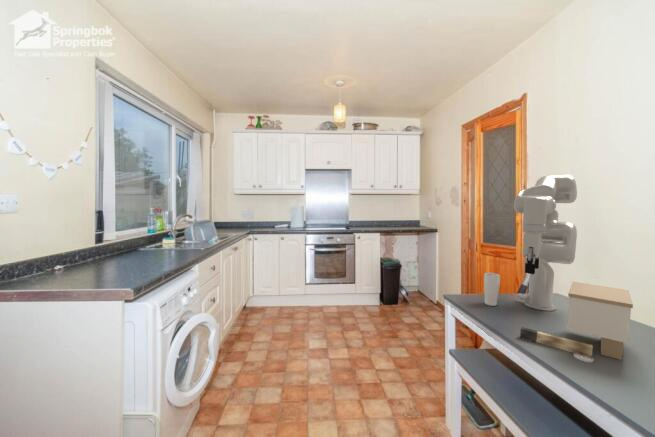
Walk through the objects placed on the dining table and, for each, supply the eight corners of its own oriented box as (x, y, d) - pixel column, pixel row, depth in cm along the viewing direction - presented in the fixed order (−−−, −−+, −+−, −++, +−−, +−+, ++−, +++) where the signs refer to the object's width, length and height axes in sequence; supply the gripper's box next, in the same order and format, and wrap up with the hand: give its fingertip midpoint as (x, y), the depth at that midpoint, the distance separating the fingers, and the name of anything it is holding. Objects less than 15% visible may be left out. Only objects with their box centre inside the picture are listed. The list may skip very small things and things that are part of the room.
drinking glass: (480, 304, 147) (482, 274, 146) (485, 301, 152) (486, 271, 151) (496, 307, 142) (498, 276, 141) (500, 304, 147) (501, 274, 146)
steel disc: (571, 358, 98) (571, 355, 98) (575, 353, 101) (575, 350, 101) (591, 365, 94) (591, 361, 94) (595, 360, 97) (595, 356, 97)
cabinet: (564, 347, 105) (568, 293, 103) (569, 328, 120) (572, 281, 119) (627, 364, 94) (632, 304, 93) (624, 341, 109) (628, 290, 108)
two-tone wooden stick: (520, 338, 111) (520, 328, 111) (521, 336, 113) (521, 326, 113) (591, 357, 98) (592, 347, 98) (591, 355, 99) (592, 344, 99)
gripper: (526, 225, 127) (524, 264, 129) (518, 230, 115) (516, 273, 116) (548, 226, 122) (546, 267, 124) (542, 231, 110) (540, 277, 111)
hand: (531, 270), depth 120 cm, fingers open, 9 cm apart
